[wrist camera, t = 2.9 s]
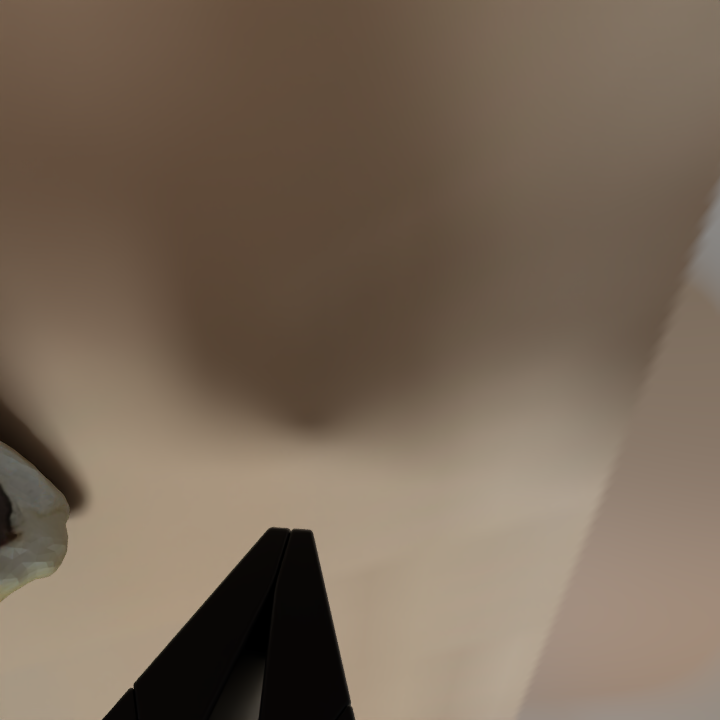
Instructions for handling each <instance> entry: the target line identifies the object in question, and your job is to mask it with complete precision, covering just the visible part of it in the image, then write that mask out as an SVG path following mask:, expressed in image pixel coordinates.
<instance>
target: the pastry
mask: <svg viewBox="0 0 720 720" xmlns="http://www.w3.org/2000/svg"><path fill="white" fill-rule="evenodd" d="M69 512H70V508H69V505H68V503H67V501H66V498H65V496H64V495H63V494H62V493H61V492H60V491H59V490H58V489H57V488H56V487H55V486H54V485H53V484H52V483H51V482H50V481H49V480H48V479H47V478H46V477H45V476H44V475H43V474H42V473H41V472H40V471H39V470H38V469H37V468H36V467H35V466H34V465H33V464H32V463H31V462H29V461H28V460H27V459H25V458H24V457H23V456H22V455H20V454H19V453H18V452H17V451H15V450H14V449H12V448H11V447H9V446H8V445H6V444H5V443H3V442H2V441H0V602H1V601H2V600H4V599H5V598H6V597H7V596H8V595H10V594H11V593H13V592H14V591H16V590H17V589H19V588H21V587H22V586H24V585H26V584H27V583H29V582H31V581H33V580H35V579H39V578H45V577H48V576H50V575H52V574H53V573H54V572H55V571H56V570H57V569H58V567H59V566H60V565H61V563H62V561H63V559H64V557H65V555H66V552H67V545H68V534H67V529H66V522H67V520H68V518H69Z"/></svg>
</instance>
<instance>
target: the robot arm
mask: <svg viewBox="0 0 720 720" xmlns="http://www.w3.org/2000/svg"><path fill="white" fill-rule="evenodd" d="M102 720H355V717H354V712H353V708H352V707H351V700H350V695H349V691H348V686H347V682H346V678H345V673H344V669H343V664H342V660H341V655H340V651H339V646H338V642H337V637H336V633H335V628H334V624H333V620H332V615H331V611H330V606H329V602H328V597H327V593H326V588H325V584H324V579H323V575H322V570H321V566H320V562H319V557H318V553H317V548H316V544H315V539H314V535H313V532H312V531H311V530H306V529H293V530H292V531H291V530H290V529H288V528H278V527H271V528H269V529H268V530H267V531H266V532H265V533H264V534H263V536H262V537H261V538H260V539H259V540H258V541H257V542H256V544H255V545H254V546H253V547H252V548H251V549H250V551H249V552H248V553H247V554H246V555H245V556H244V557H243V559H242V560H241V561H240V562H239V563H238V564H237V566H236V567H235V568H234V569H233V570H232V571H231V572H230V574H229V575H228V576H227V577H226V578H225V579H224V580H223V582H222V583H221V584H220V585H219V586H218V587H217V589H216V590H215V591H214V592H213V593H212V594H211V595H210V597H209V598H208V599H207V600H206V601H205V602H204V604H203V605H202V606H201V607H200V608H199V609H198V610H197V612H196V613H195V614H194V615H193V616H192V617H191V618H190V620H189V621H188V622H187V623H186V624H185V625H184V627H183V628H182V629H181V630H180V631H179V632H178V633H177V635H176V636H175V637H174V638H173V639H172V640H171V641H170V643H169V644H168V645H167V646H166V647H165V648H164V650H163V651H162V652H161V653H160V654H159V655H158V656H157V658H156V659H155V660H154V661H153V662H152V663H151V665H150V666H149V667H148V668H147V669H146V670H145V671H144V673H143V674H142V675H141V676H140V677H139V678H138V679H137V681H136V682H135V683H134V689H133V688H130V689H128V691H127V692H126V693H125V694H124V695H123V696H122V698H121V699H120V700H119V701H118V702H117V703H116V705H115V706H114V707H113V708H112V709H111V710H110V711H109V713H108V714H107V715H106V716H105V717H104V718H103V719H102Z"/></svg>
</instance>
